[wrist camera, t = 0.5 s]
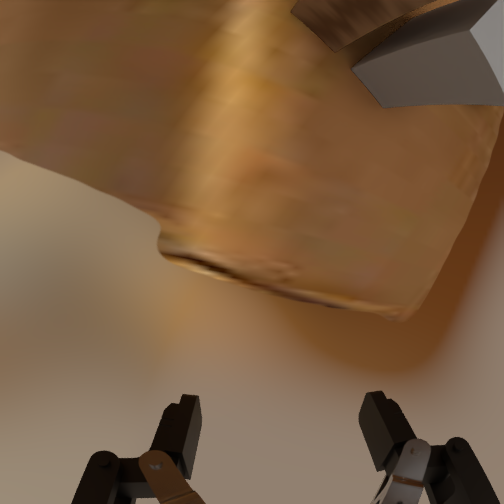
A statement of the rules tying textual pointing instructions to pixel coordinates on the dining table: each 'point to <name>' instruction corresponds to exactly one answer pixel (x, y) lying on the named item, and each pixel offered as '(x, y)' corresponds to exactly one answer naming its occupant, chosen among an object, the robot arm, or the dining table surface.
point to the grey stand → (441, 58)
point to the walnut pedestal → (350, 17)
